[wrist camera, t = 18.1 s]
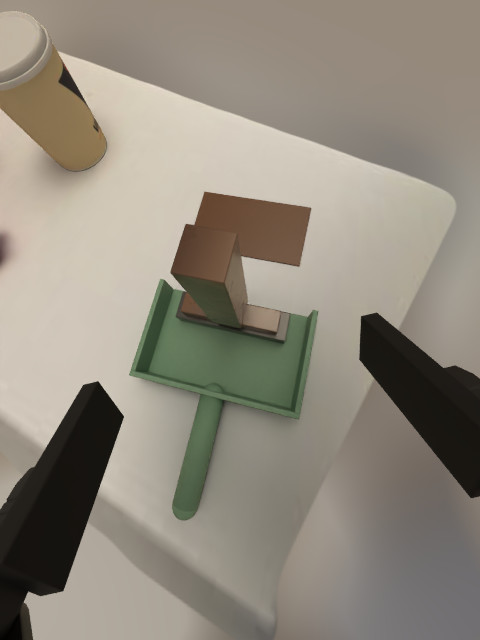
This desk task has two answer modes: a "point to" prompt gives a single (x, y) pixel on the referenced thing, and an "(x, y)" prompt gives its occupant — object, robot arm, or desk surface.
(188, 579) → the desk surface
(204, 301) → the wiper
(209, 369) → the dustpan
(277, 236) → the brown rectangular board
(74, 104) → the coffee cup
